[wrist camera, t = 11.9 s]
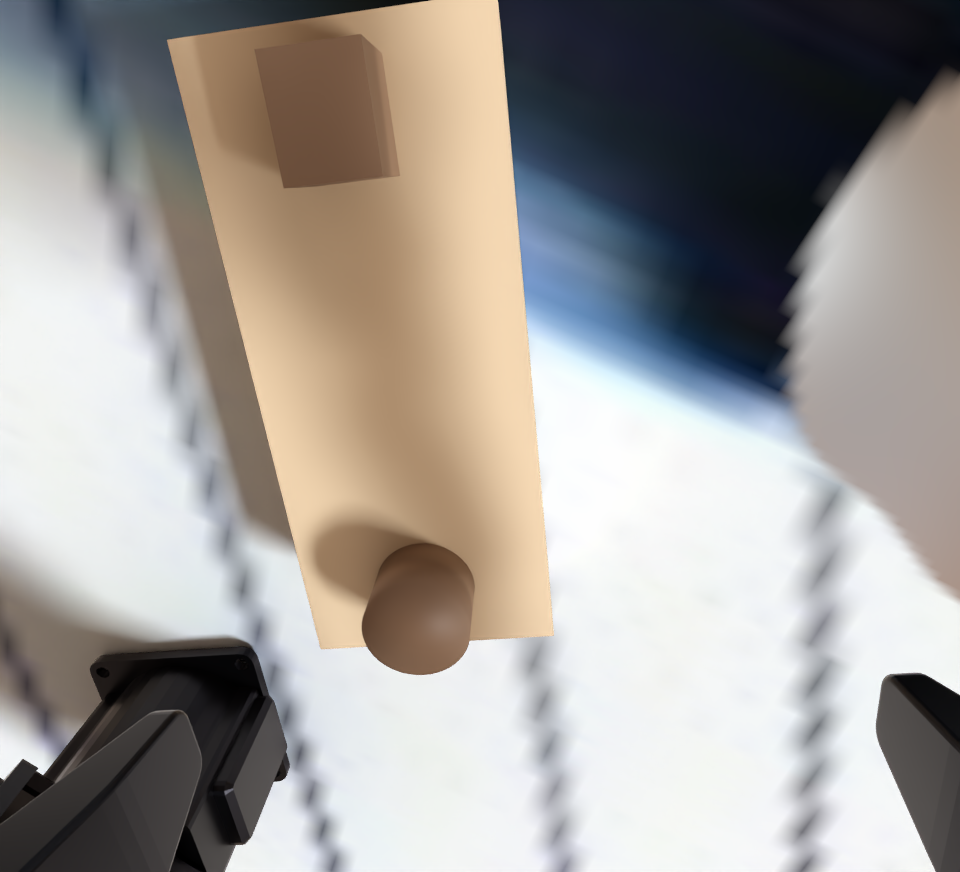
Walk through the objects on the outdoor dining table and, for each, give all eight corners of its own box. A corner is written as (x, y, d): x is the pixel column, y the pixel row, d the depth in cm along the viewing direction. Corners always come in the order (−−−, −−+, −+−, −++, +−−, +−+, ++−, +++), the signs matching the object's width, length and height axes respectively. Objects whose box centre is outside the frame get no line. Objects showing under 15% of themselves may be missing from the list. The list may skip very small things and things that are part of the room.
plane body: (351, 573, 23) (300, 698, 18) (241, 68, 17) (112, 18, 12) (547, 560, 23) (558, 685, 17) (501, 31, 17) (493, -41, 11)
